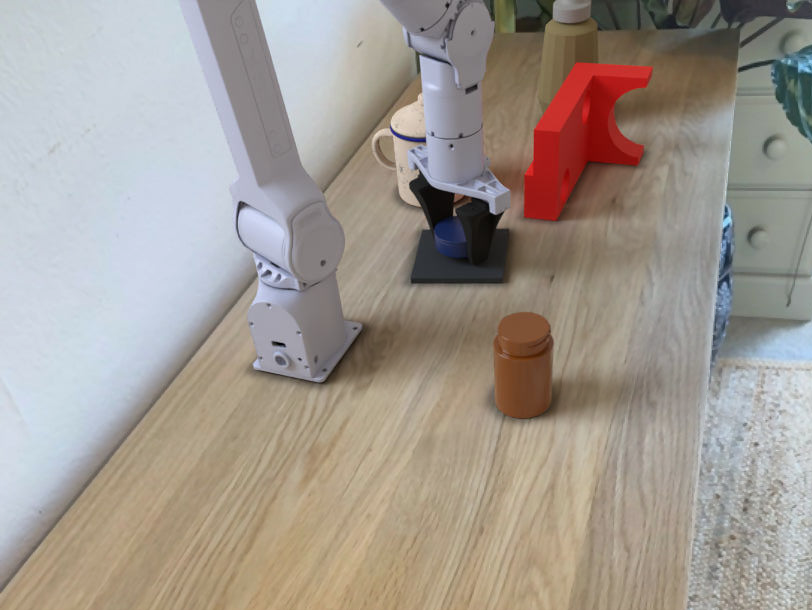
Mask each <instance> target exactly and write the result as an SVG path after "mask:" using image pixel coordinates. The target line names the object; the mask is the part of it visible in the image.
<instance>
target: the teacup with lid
mask: <svg viewBox="0 0 812 610" xmlns="http://www.w3.org/2000/svg"><path fill="white" fill-rule="evenodd" d="M389 123H390V124H389V128H387V127H385V128H382V129H380V130H378V131H377V132H376V133H375V134H374V135H373V137H372V140H371V148H372V153H373V155H374V157H375V160H376V161H377V162H378V163H379V165H380V166H381V167H383V168H384V169H386V170H388V171H391V172H395V173H396V177H397V186H398V193H399V196H400V199H402V200H403V201H404V202H405V203H407V205H410V206H413V207H417V208H422V207H421V205H420V204H419V202H418V200H417V199H416V197H415V196H414V194H413V193H412V191H411V190H410V189H409V183H410V181H412V180H414V179H416V178H418V175H419V169H417V170H412V169H410V168H409V166H408V156H407V151H408V150H410V149H412V148H414V147H417V146H419V145H423V146H426V147H427V143H426V130H425V117H424V104H423V92H420V93H419V94H418V96H417V100H416V101H414V102H413V103H412V102H411V103H410V104H407V105H405V106H403V107H400V108H399V109H398V110H397V111H395V112H394V114H393V115H392V117H391V119H390V122H389ZM382 138H392V140H393V150H394V158H395V162H393V161H391V160H389V159H388V158H387V157H386V156H385V154H384V153H383V151H382V149H381V145H380V139H382ZM464 197H465V195H461V194H457V193H455V197H454V203H456V202H458V201H460V200H461V199H463V198H464Z"/></svg>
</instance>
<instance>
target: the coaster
mask: <svg viewBox="0 0 812 610" xmlns="http://www.w3.org/2000/svg"><path fill="white" fill-rule="evenodd" d="M509 236H510V228H496V230H495V233H494V236H493V240H492V243H491V247H490V251H489V256H488V259H486V260H484V261H483V262H481V263H479V264H477V265H472V264H471V263H470V261H469V258H468V257H463V258H454V257H448V256H445V255H443V254H441V253H439V252H438V251H437V249H436V247H435V241H434V239H433V236H432V233H431V230H430V228H429V229H422V230H421V234H420V238H419V242H418V245H417V249H416V250H417V251H416V254H415V258H414V262H413V266H412V270H411V275H410V283H411V284H416V283H417V284H465V283H466V284H503V283H504V279H505V278H504V277H505V270H506V269H505V268H506V262H507V261H506V260H507V253H508V245H509Z"/></svg>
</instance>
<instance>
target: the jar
mask: <svg viewBox="0 0 812 610" xmlns="http://www.w3.org/2000/svg"><path fill="white" fill-rule="evenodd" d="M551 333H552V328H551V324H550V323H549V321H548V320H547V319H546V318H545V317H544V316H542V315H540V314H538V313H536V312H531V311H518V312H513V313H510V314H508V315H506V316H505V317H503V318H502V319H501V320H500V321H499V323H498V325H497V334H496V335H495V337H494V338H493V342H492V346H493V347H492V349H493V354H492V355H493V385H494V386H493V387H494V389H493V391H494V404H495V406H496V408H497V410H498V411H500V412H501V413H502V414H503V415H505V416H507V417H511V418H515V419H530V418H535V417H537V416H540V415H543V414H544V413H546V411H547V410H548V409H549V408H550V407H551V404H552V399H553V373H554V349H555V341H554V338H553V335H552V334H551Z"/></svg>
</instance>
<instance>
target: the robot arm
mask: <svg viewBox="0 0 812 610" xmlns="http://www.w3.org/2000/svg"><path fill="white" fill-rule="evenodd" d="M177 1H178V5H179V7H180V10H181V13H182V15H183V19H184V22H185V25H186V28H187V30H188V34H189V36H190V40H191V42H192V44H193V48H194V50H195V53H196V56H197V59H198V62H199V65H200V67H201V70H202V74H203V77H204V79H205V82H206V85H207V89H208V91H209V94H210V97H211V100H212V102H213V105H214V107H215V111H216V114H217V117H218V120H219V122H220V125H221V129H222V131H223V135H224V137H225V141H226V143H227V145H228V148H229V152H230V154H231V157H232V160H233V163H234V166H235V169H236V171H237V176H236V177H234V179H233V180H232V182H231V183H230V185H229V186H228V191H229V194H230V195H231V196H230V197H231V201H232V206H233V209H232V210H233V212H232V229H233V233H234V235H235V238H236V239H237V241H238V242H239V244H241V245H242V246H243V247H244V248H245V249H248V250H250V251H251V253H252V257H253V260H254V264H255V266H256V271H257V276H258V278H257V279H258V286H257V290H256V294H255V296H254V299H253V301H252V303H251V305H250V306H249V308H248V311H247V315H246V316H247V317H246V320H247V325H248V329H249V331H250V335H251V338H252V342H253V344H254V349H255V352H256V357H257V358H256V359H255V361H254V362H253V363H252V367H253V369H254V370H257V371H262V372H267V373H272V374H276V375H282V376H285V377H290V378H294V379H295V378H296V379H300V380H305V381H310V382H314V383H319V384H320V383H323V382H325V381H326V380H327V378H328V377H329V376H330V374H331V373H332V371H333V370H334V369H335V368H336V366H337V365H338V363H339V362H340V360H341V359H342V358H343V356H344V355H345V353H346V352H347V351H348V349H349V348H350V347H351V346H352V344H353V343H354V341H355V340H356V338H357V337H358V336H359V334H360V333H361V331H362V330H363V324H362V323H361V322H356V321H352V320H345V317H344V313H343V307H342V306H343V305H342V301H341V294H340V289H339V284H338V283H339V282H338V278H337V271H338V266H339V264H340V263H341V261H342V259H343V255H344V252H345V246H346V234H345V231H344V228H343V225H342V224H341V222H340V221H339V220H338V218H336V216H334V215H333V213H332V212H331V210H330V209H329V206H328V203H327V199H326V196H325V194H324V192H323V191H322V190H321V189H320V187H319V186H318V184H317V183H316V182H315V181H314V179H313V178H312V177H311V175H310V174H309V173H308V172H307V171H306V168H305V167H304V166H303V165H302V161H301V157H300V154H299V150H298V146H297V144H296V140H295V135H294V132H293V130H292V126H291V122H290V119H289V115H288V112H287V108H286V104H285V101H284V98H283V97H284V96H283V94H282V90H281V87H280V83H279V79H278V76H277V72H276V69H275V65H274V62H273V59H272V55H271V51H270V47H269V44H268V41H267V37H266V32H265V30H264V27H263V23H262V19H261V16H260V11H259V9H258V4H257V2H256V1H257V0H177ZM377 1H378V2H379V3H380V4H381V5H382V6H383V7H384V8H385V9H386V10H387V11H388V12H389V13H390V14H391V16H392V17H393V18H394V20H396V21H397V22H398V23H399V24H400V25H401V28H402V29H401V30H402V35H403V36H402V37H403V39H404V42H405V44H406V46H407V48H410V49H412V50H413V51H416V52H417V53H419V66H420V68H419V69H420V77H421V91H422V92H423V104H424V117H425V130H426V143H427V147H426V146H423V145H419V146H417V147H414V148H412V149H410V150H408V151H407V156H408V166H409V168H410V169H412V170H417V169H419V175H418V178H416V179H414V180H412V181H410V183H409V189H410V190H411V191H412V193H413V194H414V196H415V197H416V199H417V200H418V202H419V204H420V205H421V207H420V208H421V209H422V212H423V214H424V216H425V219H426V222H427V225H428V228H429V229H430V230H431V233H432V236H433V239H434V241H435V235H434V229H435V226H436V225H437V224H438V223H439V222H440V221H442V220H443V219H445V218H448V217H451V216H454V214H455V216H456V215H457V216H458V218H459V220H460V222H461V225H462V227H463V230H464V234H465V238H466V245H467V253H468V258H469V261H470V263H471V264H472V265H477V264H479V263H481V262H483V261H484V260H486V259H488V256H489V251H490V247H491V243H492V240H493V236H494V233H495V230H496V229H498V228H497V227H498V225H499V223H500V221H501V219H502V217H503V215H504V213H505V212H506V211H507V210H509V209H511V190H510V189H509V188H508V187H506V186H505V185H503V184H502V183H501V182H500V180H499V179H498V178H497V176H495V174H494V173H493V172H492V171H491V169H490V168H489V167H490V166H492V159H491V158H490V157H489V156H487V155H485V148H484V113H483V111H484V110H483V80H484V78H485V73H487V57H488V52H489V50H490V48H491V46H492V43H493V38H494V36H495V35H494V34H495V25H496V22H495V20H492V19H491V15H490V12H489V10H488V8H487V5H486V3H485V2H484V0H377ZM422 92H421V93H422ZM455 193H457V194H461V195H464V196H466V197H470V201H468V202H466V203H464V204H463V205H460V206H458V207H455V208H454V204H455V202H454V197H455Z"/></svg>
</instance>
